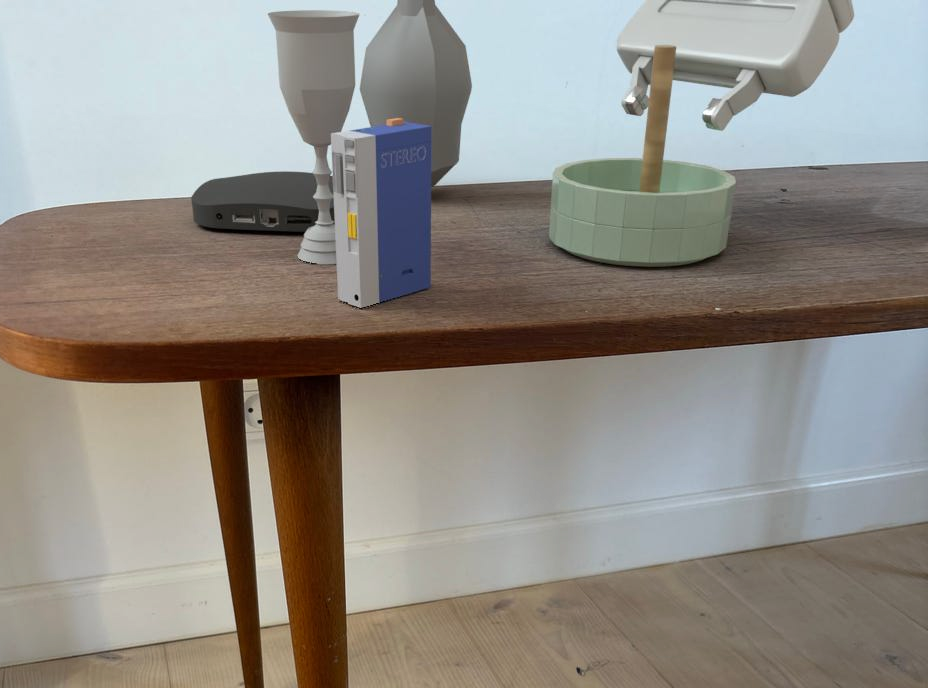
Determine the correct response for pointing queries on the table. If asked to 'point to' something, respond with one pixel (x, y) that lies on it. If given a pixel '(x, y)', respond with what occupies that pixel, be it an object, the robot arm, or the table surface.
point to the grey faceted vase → (419, 78)
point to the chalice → (317, 99)
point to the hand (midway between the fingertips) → (669, 117)
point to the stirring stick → (657, 117)
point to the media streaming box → (260, 202)
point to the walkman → (382, 211)
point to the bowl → (640, 212)
